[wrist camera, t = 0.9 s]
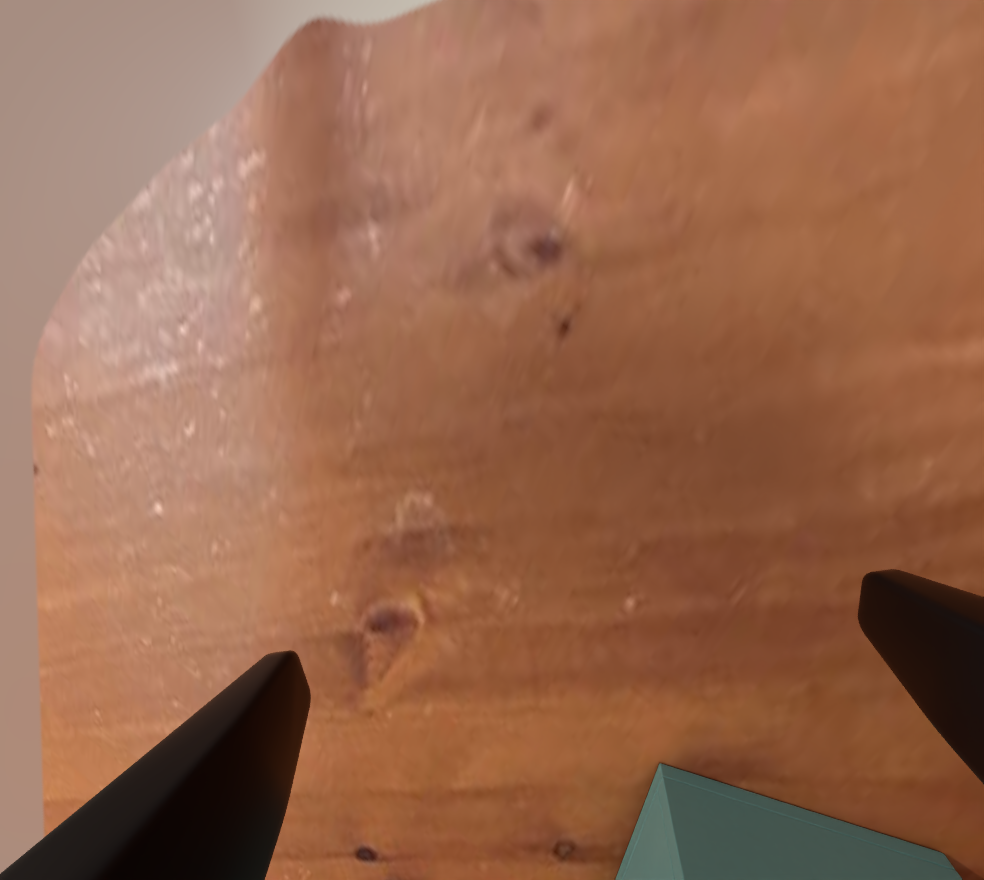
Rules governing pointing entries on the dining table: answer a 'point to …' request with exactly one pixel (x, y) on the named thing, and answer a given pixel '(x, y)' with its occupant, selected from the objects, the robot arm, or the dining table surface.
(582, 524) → the dining table surface
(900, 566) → the dining table surface
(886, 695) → the dining table surface
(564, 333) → the dining table surface
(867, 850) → the open box
